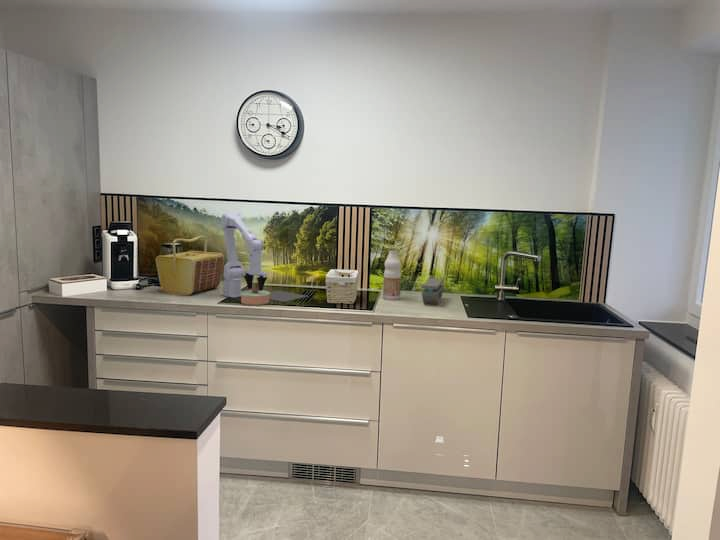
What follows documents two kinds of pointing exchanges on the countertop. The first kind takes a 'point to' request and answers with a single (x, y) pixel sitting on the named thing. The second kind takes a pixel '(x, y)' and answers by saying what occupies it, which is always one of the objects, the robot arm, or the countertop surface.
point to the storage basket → (341, 286)
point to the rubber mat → (284, 296)
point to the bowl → (254, 300)
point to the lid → (255, 291)
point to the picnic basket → (189, 270)
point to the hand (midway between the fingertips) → (255, 289)
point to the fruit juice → (392, 276)
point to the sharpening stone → (432, 291)
